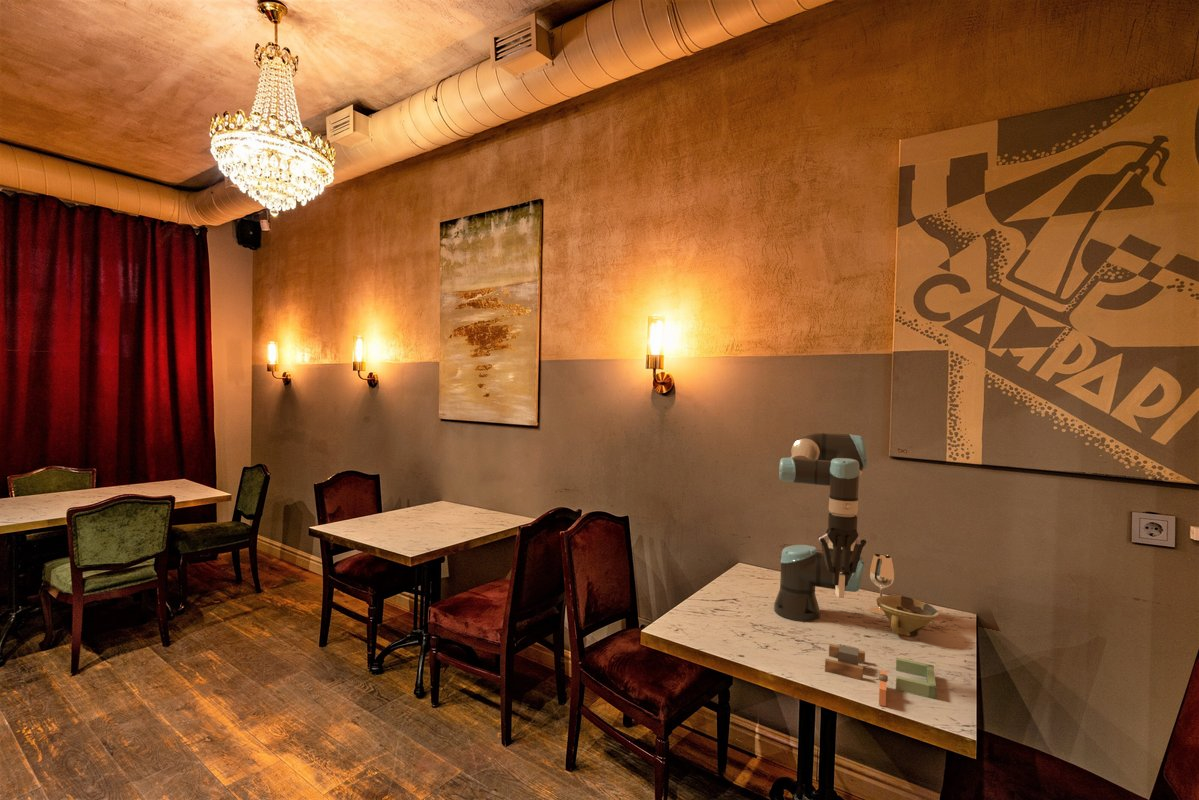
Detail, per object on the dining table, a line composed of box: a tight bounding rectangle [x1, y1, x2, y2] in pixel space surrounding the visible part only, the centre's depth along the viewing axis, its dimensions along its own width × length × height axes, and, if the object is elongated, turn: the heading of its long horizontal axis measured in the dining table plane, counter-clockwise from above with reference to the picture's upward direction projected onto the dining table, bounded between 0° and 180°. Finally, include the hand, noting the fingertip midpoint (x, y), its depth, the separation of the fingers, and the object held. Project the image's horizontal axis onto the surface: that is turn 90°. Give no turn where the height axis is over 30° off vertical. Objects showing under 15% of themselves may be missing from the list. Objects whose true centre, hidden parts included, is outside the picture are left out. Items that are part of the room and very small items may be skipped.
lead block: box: [837, 644, 860, 666], centre depth 161 cm, size 5×5×5 cm
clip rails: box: [824, 643, 866, 681], centre depth 161 cm, size 10×12×3 cm
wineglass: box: [868, 553, 895, 616], centre depth 204 cm, size 8×8×20 cm
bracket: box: [895, 657, 937, 700], centre depth 153 cm, size 9×14×3 cm, turn 152°
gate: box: [878, 669, 889, 707], centre depth 146 cm, size 2×11×5 cm, turn 152°
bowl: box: [875, 594, 941, 638], centre depth 186 cm, size 18×18×10 cm
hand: (839, 596), depth 161 cm, fingers closed
